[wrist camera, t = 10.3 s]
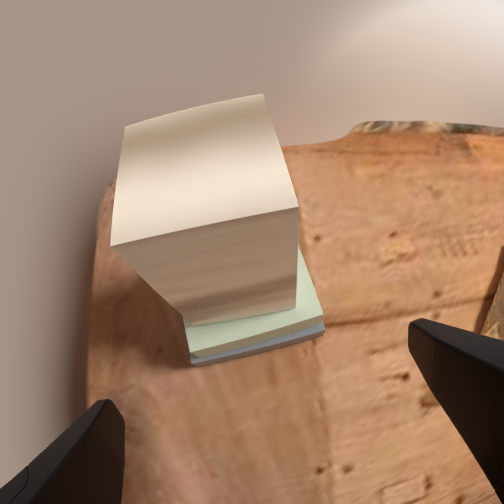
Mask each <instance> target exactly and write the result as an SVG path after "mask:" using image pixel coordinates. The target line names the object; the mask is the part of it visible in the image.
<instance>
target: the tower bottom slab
mask: <svg viewBox="0 0 504 504" xmlns="http://www.w3.org/2000/svg"><path fill="white" fill-rule="evenodd" d="M182 317H183V316H182ZM183 322H184V321H183ZM184 328H185V326H184ZM324 332H325V327H324V324H323V321H322V319H321V322H320V324H318V325H315V326H312V327H309V328H306V329H303V330H300V331H297V332H293V333H290V334H287V335H284V336H280V337H277V338H273V339H270V340H267V341H263V342H260V343H256V344H253V345H249V346H245V347H242V348H238V349H234V350H231V351H227V352H223V353H219V354H215V355H211V356H207V357H203V358H200V357H198V356H196V355H194V354H192V353H190V350H189V345H188V341H187V345H188V350H189V355H190V361H191V364H193V365H195V366H198V367H201V366H206V365H210V364H215V363H220V362H224V361H228V360H233V359H237V358H241V357H246V356H250V355H254V354H258V353H262V352H266V351H270V350H273V349H277V348H281V347H285V346H288V345H292V344H296V343H299V342H303V341H306V340H310V339H313V338H316V337H320V336H322V335H323V334H324ZM185 334H186V331H185ZM186 339H187V336H186Z"/></svg>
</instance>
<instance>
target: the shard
mask: <svg viewBox="0 0 504 504" xmlns="http://www.w3.org/2000/svg"><path fill="white" fill-rule="evenodd" d="M480 334H482V335H485V336H489V337H493V338H496V339H500V340H504V268H503V273H502V277H501V279H500V281H499V285H498V289H497V292H496V294H495V297H494V300H493V303H492V305H491V308H490V310H489V312H488V314H487V318H486V321H485V325H484V327H483V329H482V331H481V333H480Z"/></svg>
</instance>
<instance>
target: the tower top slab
mask: <svg viewBox="0 0 504 504" xmlns="http://www.w3.org/2000/svg"><path fill="white" fill-rule="evenodd" d="M322 317H323V312H322V309H321V306H320V303H319V300H318V298H317V295H316V292H315V289H314V286H313V284H312V281H311V278H310V275H309V273H308V270H307V267H306V265H305V262H304V259H303V257H302V254H301V251H300V249H299V246H298V264H297V290H296V308H293V309H288V310H283V311H278V312H273V313H268V314H262V315H257V316H252V317H246V318H241V319H235V320H230V321H224V322H218V323H212V324H206V325H200V326H193V325H192V324H191V323H190V322H189V321H188V320H186V319H185V318H184V317H183V321H184V326H185V331H186V336H187V341H188V345H189V350H190V353H192V354H194V355H196V356H198V357H200V358H203V357H207V356H211V355H215V354H219V353H223V352H227V351H231V350H234V349H238V348H242V347H245V346H249V345H253V344H256V343H260V342H263V341H267V340H270V339H273V338H277V337H280V336H284V335H287V334H290V333H293V332H297V331H300V330H303V329H306V328H309V327H312V326H315V325H318V324H320V322H321V319H322Z"/></svg>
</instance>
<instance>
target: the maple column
mask: <svg viewBox="0 0 504 504" xmlns="http://www.w3.org/2000/svg"><path fill="white" fill-rule="evenodd" d="M298 227H299V205H298V202H297V199H296V195H295V192H294V189H293V185H292V182H291V179H290V176H289V172H288V169H287V166H286V163H285V160H284V157H283V153H282V150H281V147H280V144H279V141H278V138H277V135H276V132H275V130H274V126H273V123H272V120H271V117H270V114H269V111H268V109H267V105H266V103H265V100H264V97H263V94H258V95H251V96H246V97H241V98H235V99H230V100H225V101H220V102H216V103H211V104H207V105H202V106H198V107H194V108H190V109H185V110H182V111H178V112H174V113H170V114H166V115H163V116H159V117H156V118H152V119H149V120H145V121H142V122H139V123H135V124H132V125H129V126H126V127H125V132H124V137H123V144H122V150H121V155H120V162H119V169H118V175H117V183H116V191H115V199H114V208H113V218H112V230H111V243H110V246H111V247H112V249H113V250H114V251H115V252H116V253H117V254H118V255H119V256H120V257H121V258H122V259H123V260H124V261H125V262H126V263H127V264H128V265H129V266H130V267H131V268H132V269H133V270H134V271H135V272H136V273H137V274H138V275H139V276H140V277H141V278H143V279H144V280H145V281H146V282H147V283H148V284H149V285H150V286H151V287H152V288H153V289H154V290H155V291H156V292H157V293H158V294H159V295H160V296H161V297H162V298H164V299H165V300H166V301H167V302H168V303H169V304H170V305H171V306H172V307H173V308H174V309H175V310H177V311H178V312H179V313H180V314H181V315H182V316H183V317H184V318H185V319H186V320H188V321H189V322H190V323H191V324H192V325H193V326H200V325H206V324H212V323H218V322H224V321H230V320H235V319H241V318H246V317H252V316H257V315H262V314H268V313H273V312H278V311H283V310H288V309H293V308H296V290H297V264H298Z"/></svg>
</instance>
